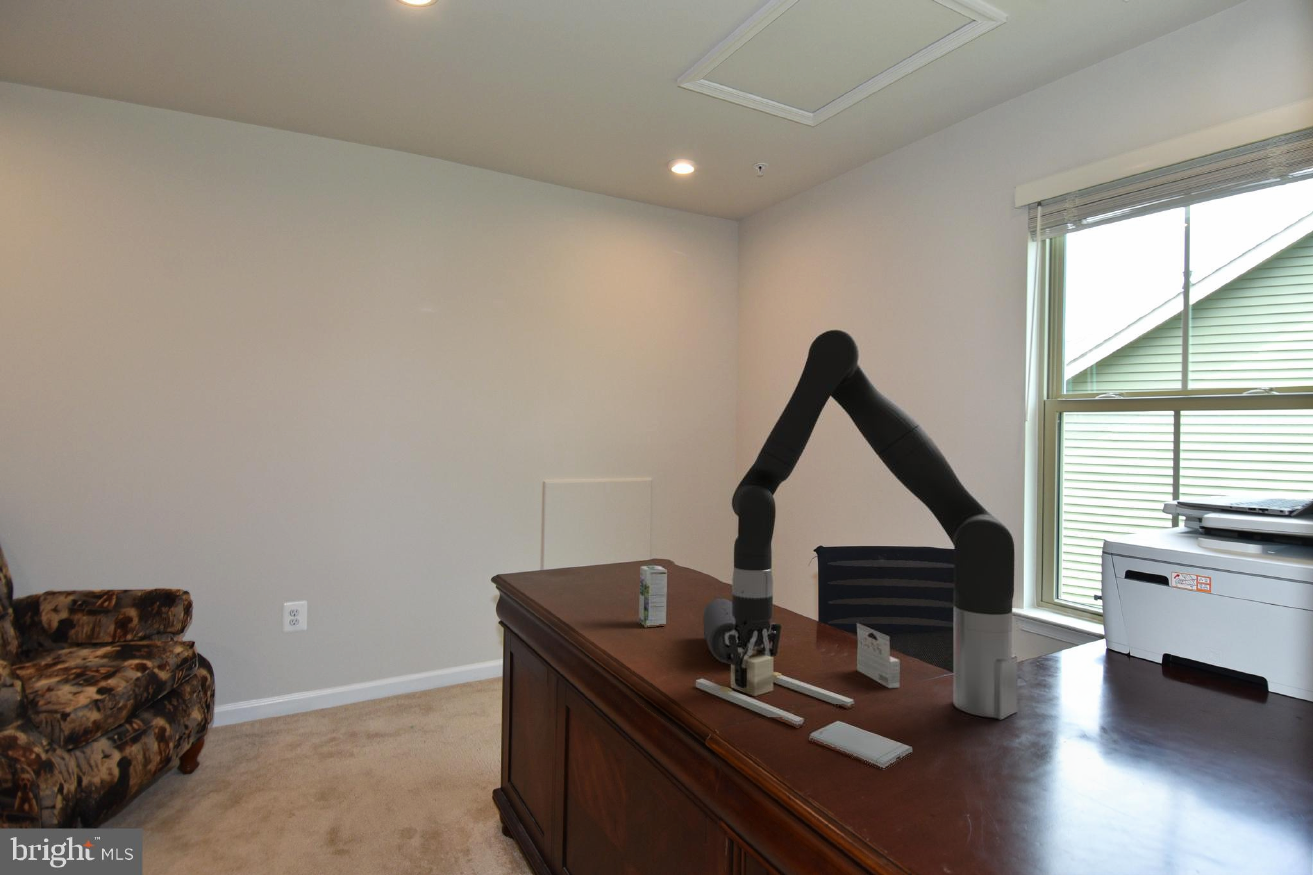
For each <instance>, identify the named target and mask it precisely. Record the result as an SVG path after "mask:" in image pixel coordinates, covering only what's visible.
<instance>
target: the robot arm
mask: <svg viewBox="0 0 1313 875" xmlns="http://www.w3.org/2000/svg"><path fill="white" fill-rule="evenodd" d="M807 352H808V353H807V357H806V358H807V359H806V362H805V363H804V368H803V370H802V372H801V375H800V377H799V380H798V382H797V384H796V386H795V389H794V390H793V393H792V394H791V397H790V398H789V401H788V402H787V404H786V406H785V407H784V409H783V411H782V412H781V414H780V416H779V417H778V420H777V421H776V423H775V424H774V426H773V428H772V429H771V431H770V433H769V434H768V436H767V438H766V440H765V442H764V443H763V445H762V448H761V449H760V451H759V453H758V455H757V457H756V459H755V461H754V463H753V464H752V465H751V467H750V468H749V469H748V471H747V472H746V474H744V476H743V478H742V479H741V481H740V482H739V483H738V485H737V487H736V488H735V490H734V493H733V495H732V498H731V507H732V510H733V513H734V514H735V515H736V516H737V517H738V519H737V520H738V521H737V524H738V526H737V527H738V528H737V537H736V538H735V540H734V545H733V571H732V572H733V573H732V579H731V580H732V582H731V584H732V585H731V586H732V587H731V589H732V590H731V592H732V593H731V595H732V596H731V602H732V615H733V617H734V618H735V625H734V628H733V631H731V632H729V633H726V632H723V633H722V641H723V647H724V653H725V659H726V664H729V665H730V666H731V665H734V667H735V684H736V685H737V686H738V687H741V688H745V687H747V668H746V666H747V660H748V658H749V656H751V654H752V651H753V649H754V650H755V651H754V652H756V653H762V654H764V655H767V656H770V657H776V656H777V654H778V649H779V643H780V635H781V631H782V630H781V629H782V626H781V624H779V623H776V622H771V619H772V618H773V616H774V615H773V614H774V612H773V611H774V608H773V607H774V602H773V600H774V579H773V578H774V577H773V571H772V570H773V568H772V566H773V565H772V564H773V562H772V561H773V559H772V557H773V554H772V553H773V552H772V541H773V537H774V536H773V535H774V530H775V523H776V516H777V515H776V514H777V511H776V510H777V509H776V501H775V498H774V496H775V493H776V491H777V490H778V488H779V487H780V485H781V484H782V483H783V482H784V481H786V480H788V479H789V477H790V475H791V474H792V473H793V471H794V470H795V467H796V466H797V463H798V462H799V460H800V458H801V457H802V456H803V455H802V454H803V452H804V450H805V449H806V446H807V444H808V442H809V440H810V438H811V435H812V433H813V431H814V428H816V425H817V422H818V420H819V417H820V415H821V413H822V412H823V410H824V408H825V406H826V404H827V402H828V400H829V399H830V397H831V398H832V399H833V400H834V401H835V402H836V403H837V404H838V405H839V406H840V407H841V408H842V409H843V410H844V412H845V413H846V414H847V416H849V418H850V419H851V420H852V422H853V424H854V426H856V428H857V430H858V431H859V432H860V434H861V435H862V437H863V438H864V440H865V441H866V442H867V443H868V445H869V446H870V447H871V449H872V450H873V451H874V453H875V454H876V456H878V458H879V460H881V462H882V463H883V464H884V466H886V468H887V469H888V471H890V473H891V474H892V475H893V476H894V477H895V478H896V479H897V480H898V481H899V482H900V483H901V484H902V485H903V487H905V488H906V489H907V490H908V491H909V492H910V493H911V494H912V495H913V496H915V497H916V498H917V499H918V500H919V501H920V502H921V503H922V504H923V505H925V507H927V509H928V510H929V511H930V512H931V513H932V515H934V518H936V520H937V522H938V523H939V524H940V526H941V527H942V529H943V530H944V532H945V534H946V535H947V536H948V538H949V540H950V541H951V543H952V545H953V547H954V548H953V550H954V552H953V553H954V554H953V555H954V556H953V561H954V568H953V570H954V573H953V574H954V576H953V652H952V653H953V654H952V655H953V675H952V676H953V681H952V682H953V688H952V694H953V700H952V701H953V705H954V707H955V708H957V709H958V710H960V711H962V712H964V713H967V714H971V715H975V716H979V717H986V718H994V719H998V720H1004V719H1005V718H1008V717H1009V716H1011V715H1013V714H1015V713H1017V712H1018V656H1017V655H1016V654H1013V602H1014V596H1015V558H1016V557H1015V542H1014V541H1015V540H1014V538H1013V535H1012V534H1011V532H1010V530H1009V528H1007V526H1005V525H1004V524H1003V523H1002V522H1001V521H1000V520H999V519H997V518H996V517H994V515H992V513H990V512H989V511H988V510H987V509H986V508H985V507H984V506H983V505H982V504H981V503H980V502H979V501H978V500H977V499H976V498H975V497H974V496H973V495H972V494H971V493H970V492H969V491H968V490H967V489H966V488H965V486H964V484H963V483H962V482H961V480H960V479H959V478H958V476H957V474H956V473H955V471H954V470H953V468H952V467H951V465H950V463H949V462H948V460H947V459H946V457H945V456H944V454H943V452H942V451H941V449H940V448H939V447H938V446H937V444H936V443H935V442H934V441H933V439H932V438H931V437H930V436H929V434H928V433H927V432H926V431H925V430H924V428H923V427H922V426H921V425H920V424H919V423H918V421H916V419H915V418H914V417H912V415H910V414H909V413H908V412H907V411H905V410H904V409H903V408H902V407H900V406H899V405H898V404H896V403H895V402H894V401H892V399H890V398H888V397H887V396H885V394H883V393H882V392H881V391H880V390H879V389H878V388H877V387H876V386H875V385H874V384H873V382H872V381H871V380H870V378H869V377H868V376H867V374H866V373H865V372H864V370H863V368H862V367H861V365H860V364H859V356H860V354H859V353H860V352H859V347H858V344H857V341H856V340H855V338H854V337H853V336H852V335H851V334H849V333H848V332H847V331H843V330H841V329H830V330H827V331H824V332H822V333H821V334H819V335H818V336H816V338H815V339H813V341H812V342H811V344H810V347H809V349H808V351H807ZM771 643H772V644H771ZM741 646H742V647H745V648H746V649H745V650H744V649H742V648H741ZM731 654H732V655H731ZM741 654H743V656H742V660H740V656H741ZM732 657H733V658H732Z"/></svg>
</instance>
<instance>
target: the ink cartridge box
mask: <svg viewBox="0 0 1313 875" xmlns="http://www.w3.org/2000/svg"><path fill="white" fill-rule="evenodd" d="M856 633H857V652H856V654H857V656H856V658H857V660H856V671H858V672H859V673H862V674H863V675H865V676H866V677H868V678H870V679H872V680H874V681H876V682H877V683H880V684H881V685H882V686H885V687H887V688H889V689H896V688H900V663H901V662H900V660H899V659H897V658H896V657H893V656H891V642H890V640H891V638H890V636H889V635H886V634H884V633H882V632H879V631H877V630H875V629H872V628H870V627H868V626H865V625H863V624H861V623H858V622H856ZM870 634H873V635H874V636H875V637H876V639H874V638H872V637H870V636H869V635H870Z"/></svg>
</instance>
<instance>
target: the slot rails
mask: <svg viewBox="0 0 1313 875" xmlns="http://www.w3.org/2000/svg"><path fill="white" fill-rule="evenodd" d="M782 674H783V673H780V672H777V671H773V684H777V685H781V686H783V687H786V688H789V689H791V690H794V691H797V692H800V693H803V694H806V695H809V696H811V697H814V698H817V699H820V700H822V701H824V702H828V703H831V704H833V705H836V704H845V705H847V706H850V705H851V704H854V705H855V699H852V698H849V697H847V696H844V695H841V694H837V693H835V692H832V691H829V690H826V689H823V688H821V687H817V686H815V685H812V684H809V683H806V682H802V681H801V680H797V679H794V678H791V677H788V676H785V675H782ZM695 688H698V689H700V690H702V691H705V692H708V693H710V694H712V695H715V696H717V697H719V698H721V699H724V700H726V701H729V702H731V703H734V704H737V705H738V706H740V707H744V708H746V709H749V710H751V711H752V712H756V713H759V714H760V715H763V716H765V717H768V718H770V717H782V718H783V719H785V720H788V721H790V722H792V723H794V724H797V725H798V724H802V723H803V722H805V721H804V720H805V718H803V717H800V716H797V715H796V714H792V713H790V712H788V711H785V710H782V709H780V708H778V707H775V706H772V705H770V704H767V703H765V702H762V701H759V700H757V699H755V698H753V697H749V696H748V695H745V694H742V693H740V692H737V691H734V690H733V689H732V688H730V687H727V686H722V685H719V684H717V683H715V682H711V681H710V680H707V679H704V678H700V679H696V680H695Z"/></svg>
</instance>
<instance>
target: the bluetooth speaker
mask: <svg viewBox="0 0 1313 875" xmlns="http://www.w3.org/2000/svg"><path fill="white" fill-rule="evenodd" d="M702 622H703V623H702V624H703V635H704V639H705V641H706V643H707V646H708V649H709V651H710V652H711V654H712V655H713V656H714V657H715V658H716V659H717V660H718V661H720V662H721V663H726V659H725V653H724V647H723V641H722V633H723V632H726V633H729V632H731V631H733V628H734V625H735V618H734V617H733V615H732V600H729V599H727V598H716V599H714V600H711V601H710V602H709V603H708V604H707V606H706V607H705V609H704V611H703V618H702ZM741 648H742V649H744V650H745V649H746V648H745V647H742V646H741ZM731 655H732V654H731ZM726 664H727V663H726Z"/></svg>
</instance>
